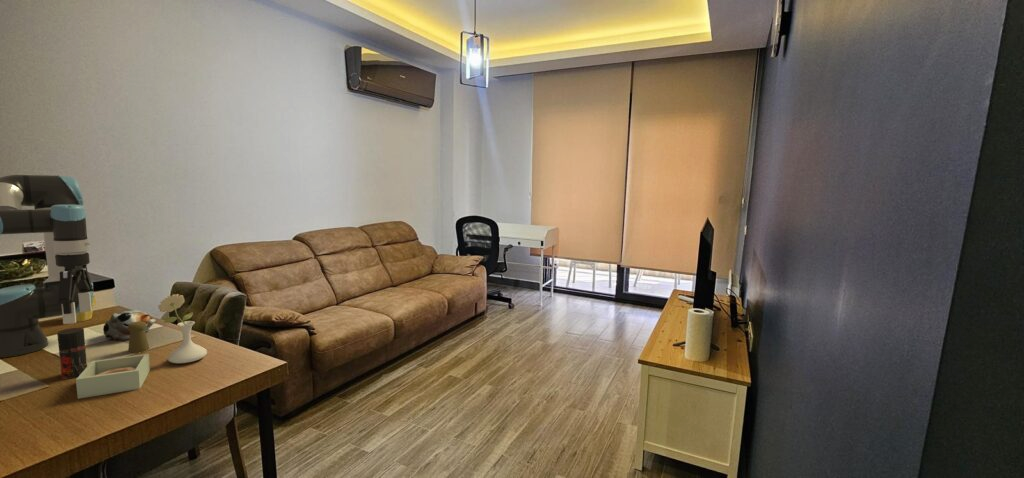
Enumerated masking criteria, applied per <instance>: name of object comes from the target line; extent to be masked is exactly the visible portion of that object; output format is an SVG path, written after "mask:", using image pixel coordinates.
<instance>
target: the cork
mask: <svg viewBox="0 0 1024 478" xmlns="http://www.w3.org/2000/svg"><path fill="white" fill-rule="evenodd" d="M145 329H146V323H145V322H142V321H138V322H133V323H130V324H129V325H128V331H130V339H128V340H129V342H128V347H127V348H128V351H127V353H128V352H129V353H128V354H131V353H135V354H140V353H139V352H141V353H145V352H147V351H149V350H150V346H149V342H148V338H147V334H146V332H145ZM148 349H149V350H148ZM144 351H145V352H144Z"/></svg>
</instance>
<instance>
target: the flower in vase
mask: <svg viewBox="0 0 1024 478" xmlns="http://www.w3.org/2000/svg"><path fill="white" fill-rule="evenodd" d="M159 303H160V304H158V307H157V308H158V310H159V312H162V313H164V312H166V313H171V312H173V311H174V312H175V314H176V316H170V317H168V318H166V319H164V321H163V322H162V323H163V324H169V323H174V322H175V321H176V320H180V321H181V322H178V323H177V324H176V326H178V327H179V329H180V330H181V333H182V343H181V345H179V346H178V347H177V348H175V349H174V350H173V351H172V352H171V353H170V354H169V355H168V356H167V360H168V362H170V363H172V364H188V363H192V362H193V363H194V362H195V361H198V360H199V361H200V359H203V358H204V357H206V356H207V354H208V350H207V349H206V348H204V347H203V346H201V345H199V344H196V343H194V342H193V341H192V337H191V336H192V327H193V326H194V325H195V323H196V322H195V321H193V320H191V318H192V316H193V315H194V311H191V312H190V313H188V314H185V315H184V316H183V317H182V319H181V318H180V317H179V315H178V312H177V309H179V308H181V307H182V306H183V304H184V303H185V298H184V295H181V294H179V293H176V294H174V293H173V294H172V295H167V297H165V298H164V299H162V301H160V302H159Z"/></svg>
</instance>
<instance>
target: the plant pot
mask: <svg viewBox="0 0 1024 478" xmlns="http://www.w3.org/2000/svg"><path fill="white" fill-rule="evenodd" d="M94 305H96V296H94V295H93V301H92V306H91V308H92V311H88V312H81V313H76V323H80V322H85V321H89V320H91V319H92V316H93V311H94V307H95V306H94Z"/></svg>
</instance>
